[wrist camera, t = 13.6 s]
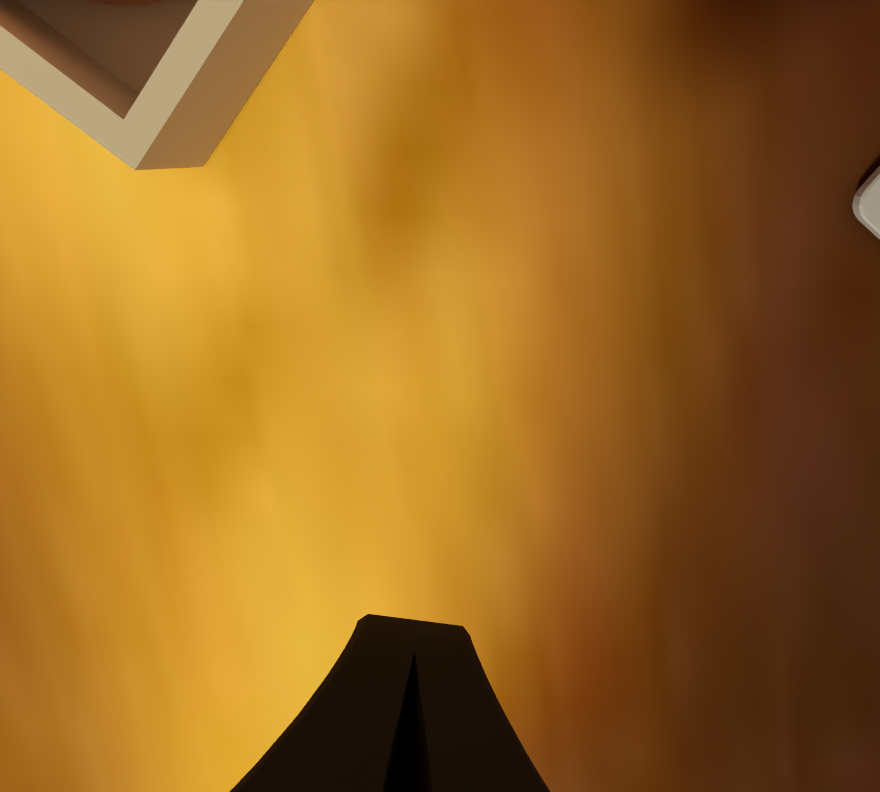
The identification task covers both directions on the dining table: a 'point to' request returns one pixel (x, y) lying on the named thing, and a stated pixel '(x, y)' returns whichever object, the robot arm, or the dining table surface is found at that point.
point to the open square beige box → (146, 68)
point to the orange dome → (124, 1)
